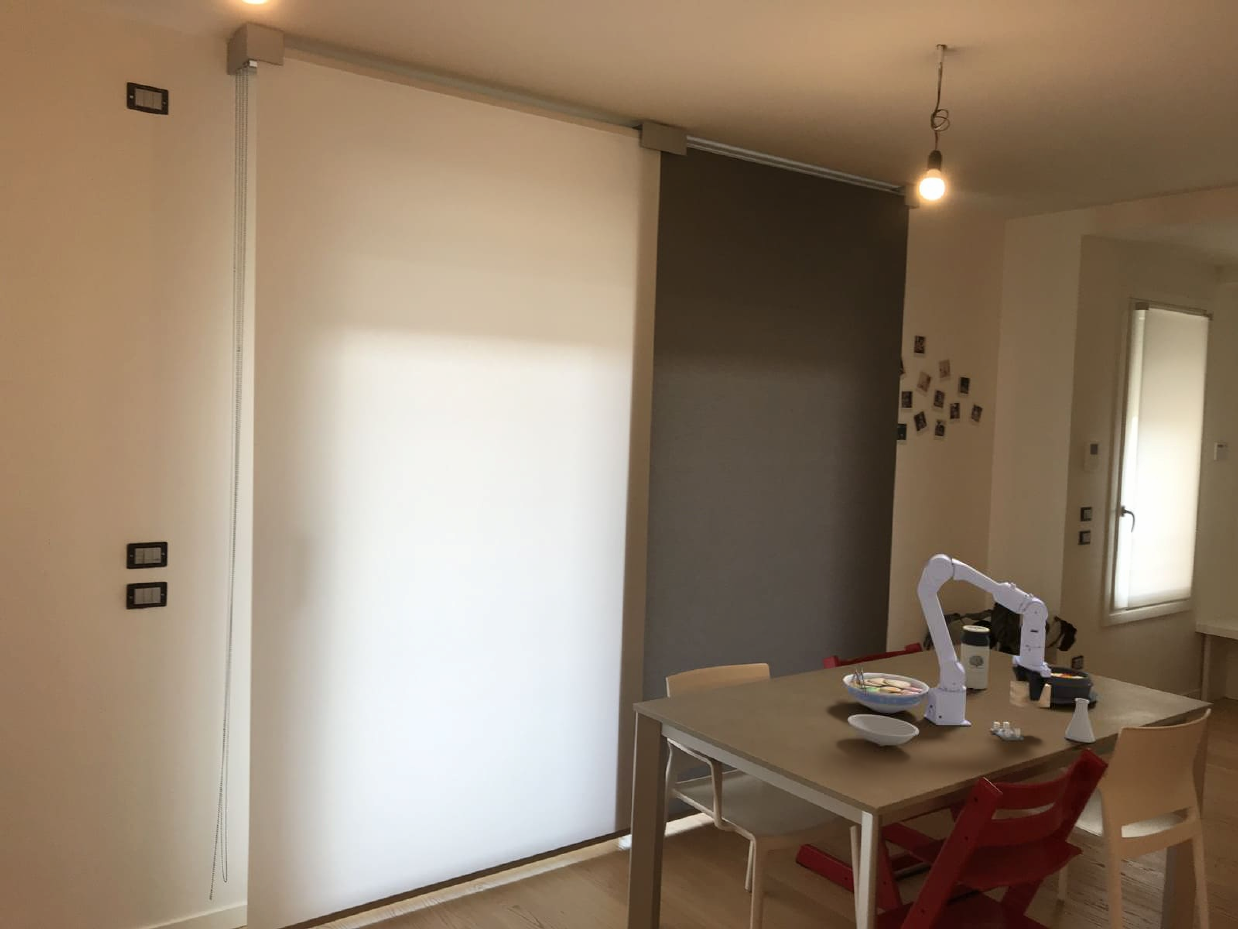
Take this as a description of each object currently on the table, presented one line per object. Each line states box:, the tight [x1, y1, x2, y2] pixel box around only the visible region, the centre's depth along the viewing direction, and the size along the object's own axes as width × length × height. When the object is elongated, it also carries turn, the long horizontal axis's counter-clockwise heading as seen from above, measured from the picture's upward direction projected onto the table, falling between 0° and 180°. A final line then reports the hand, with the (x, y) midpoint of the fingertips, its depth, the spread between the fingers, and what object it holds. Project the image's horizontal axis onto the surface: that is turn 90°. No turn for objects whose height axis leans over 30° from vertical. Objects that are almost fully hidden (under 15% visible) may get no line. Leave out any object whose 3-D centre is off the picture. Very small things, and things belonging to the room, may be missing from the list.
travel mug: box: [959, 625, 991, 690], centre depth 289 cm, size 8×8×18 cm
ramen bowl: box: [842, 666, 930, 714], centre depth 259 cm, size 25×23×8 cm
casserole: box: [1046, 665, 1099, 706], centre depth 278 cm, size 25×19×8 cm
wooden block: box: [1009, 680, 1051, 708], centre depth 245 cm, size 8×4×6 cm, turn 97°
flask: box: [1064, 698, 1096, 744], centre depth 241 cm, size 7×7×10 cm
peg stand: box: [989, 721, 1025, 741], centre depth 241 cm, size 5×7×2 cm
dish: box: [847, 714, 920, 747], centre depth 229 cm, size 18×14×5 cm
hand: (1029, 697), depth 245 cm, fingers closed on wooden block, 4 cm apart
